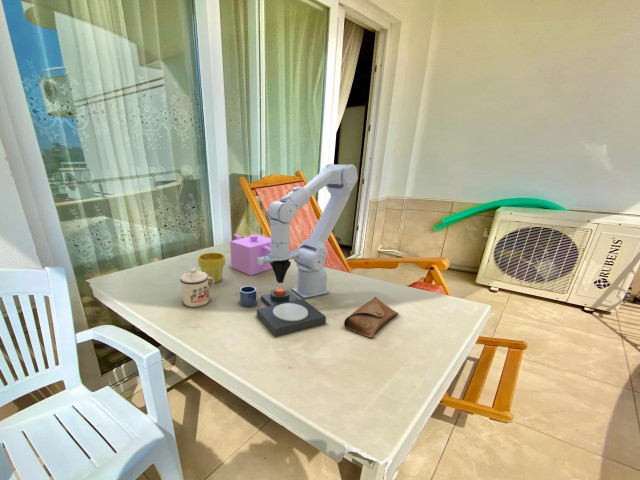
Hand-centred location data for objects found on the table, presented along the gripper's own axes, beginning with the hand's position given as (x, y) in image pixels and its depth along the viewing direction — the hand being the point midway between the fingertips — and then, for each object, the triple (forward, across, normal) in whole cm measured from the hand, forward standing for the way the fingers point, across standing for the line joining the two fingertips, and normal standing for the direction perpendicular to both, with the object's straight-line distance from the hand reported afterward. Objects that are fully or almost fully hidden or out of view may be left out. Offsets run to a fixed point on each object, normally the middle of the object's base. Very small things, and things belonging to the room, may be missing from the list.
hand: (279, 281), depth 98 cm
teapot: (+7, -5, -34) cm, 35 cm away
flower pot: (+7, +15, -27) cm, 32 cm away
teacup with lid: (+7, +24, -12) cm, 28 cm away
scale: (+7, +3, +12) cm, 14 cm away
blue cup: (+7, +10, -3) cm, 13 cm away
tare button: (+4, 0, 0) cm, 4 cm away
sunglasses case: (+7, -18, +22) cm, 29 cm away
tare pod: (+7, 0, 0) cm, 7 cm away
